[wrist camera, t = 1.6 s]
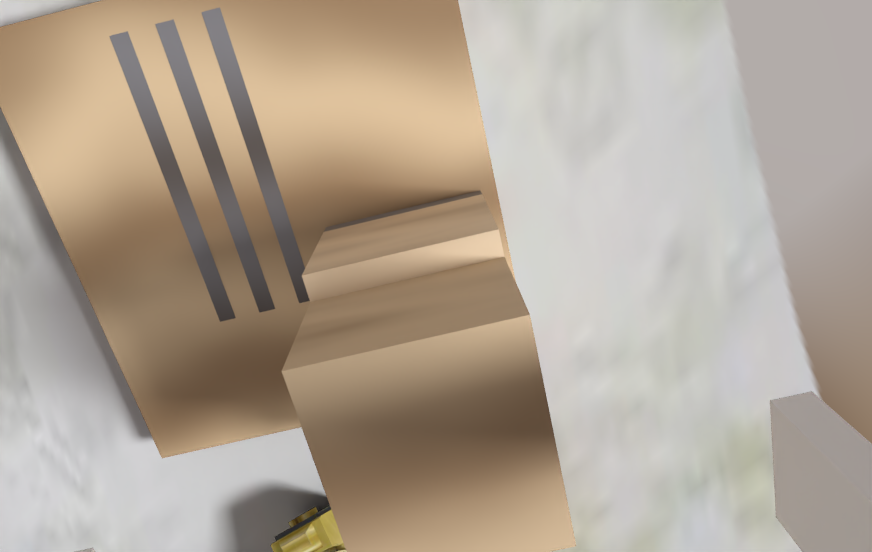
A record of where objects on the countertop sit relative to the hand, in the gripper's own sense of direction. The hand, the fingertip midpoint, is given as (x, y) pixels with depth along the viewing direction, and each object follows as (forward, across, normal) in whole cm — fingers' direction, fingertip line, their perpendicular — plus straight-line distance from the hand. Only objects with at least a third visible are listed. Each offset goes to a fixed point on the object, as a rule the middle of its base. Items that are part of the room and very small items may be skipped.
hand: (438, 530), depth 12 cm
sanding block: (+12, 0, 0) cm, 12 cm away
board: (+13, +4, -4) cm, 14 cm away
